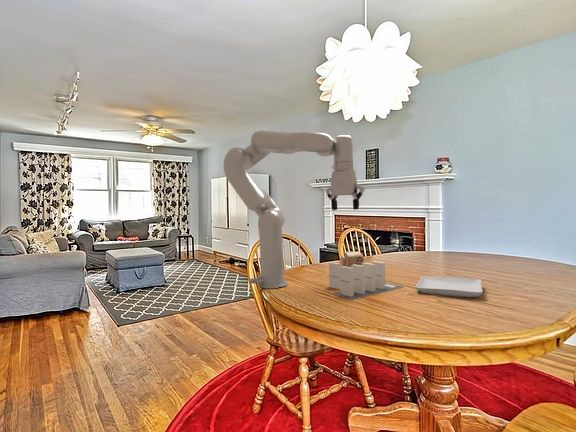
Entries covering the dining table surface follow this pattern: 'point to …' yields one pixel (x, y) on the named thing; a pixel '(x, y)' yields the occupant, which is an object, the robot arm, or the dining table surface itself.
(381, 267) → the domino
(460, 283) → the salad plate
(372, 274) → the domino
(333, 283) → the domino
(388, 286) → the domino mat
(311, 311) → the dining table surface
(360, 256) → the cardboard box
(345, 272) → the domino
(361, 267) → the domino
